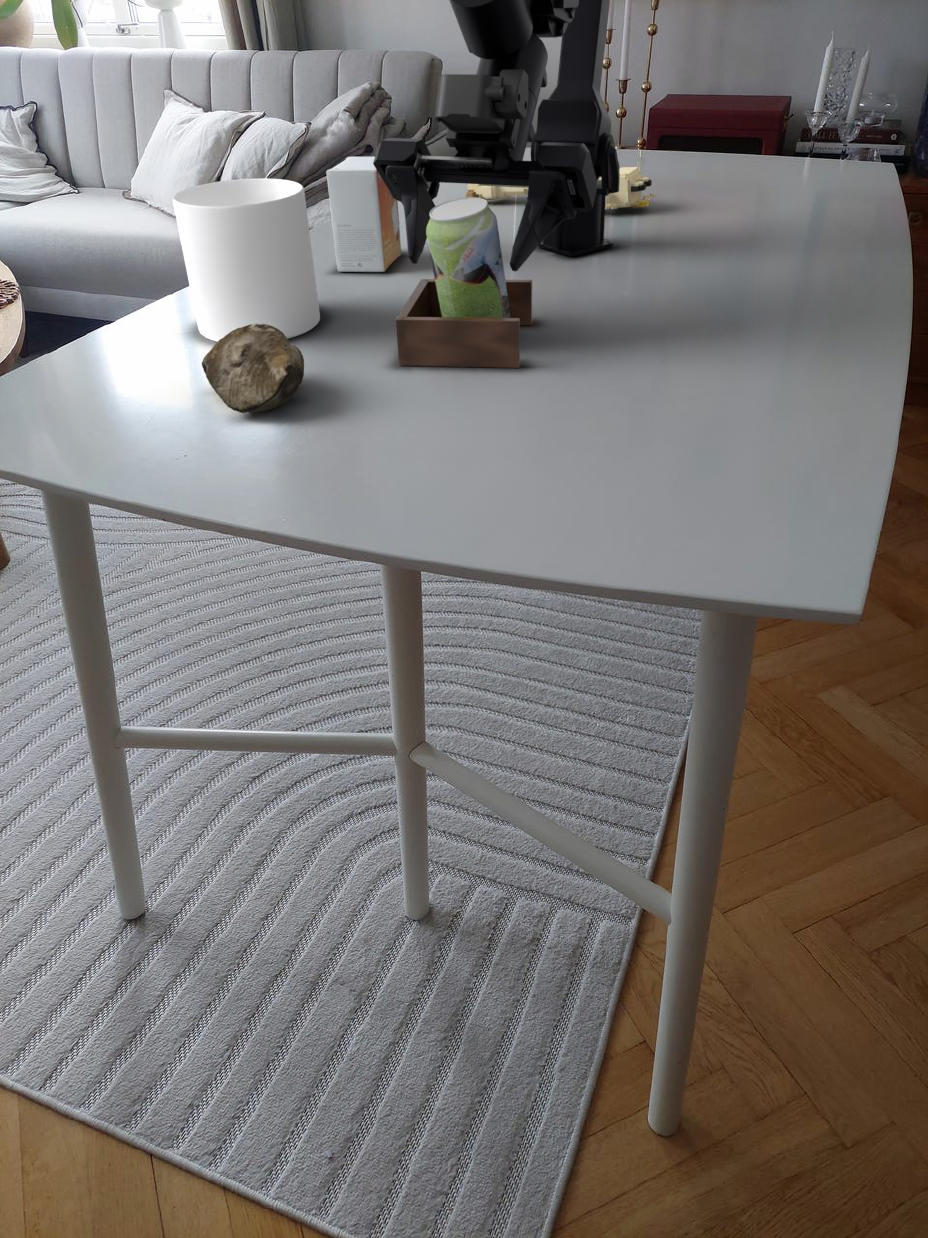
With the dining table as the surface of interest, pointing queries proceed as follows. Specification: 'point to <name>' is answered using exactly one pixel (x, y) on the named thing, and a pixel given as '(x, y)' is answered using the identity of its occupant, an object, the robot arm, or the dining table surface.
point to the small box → (362, 217)
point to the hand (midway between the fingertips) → (461, 264)
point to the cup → (248, 255)
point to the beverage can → (467, 259)
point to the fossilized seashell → (254, 368)
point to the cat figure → (628, 184)
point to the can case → (461, 331)
